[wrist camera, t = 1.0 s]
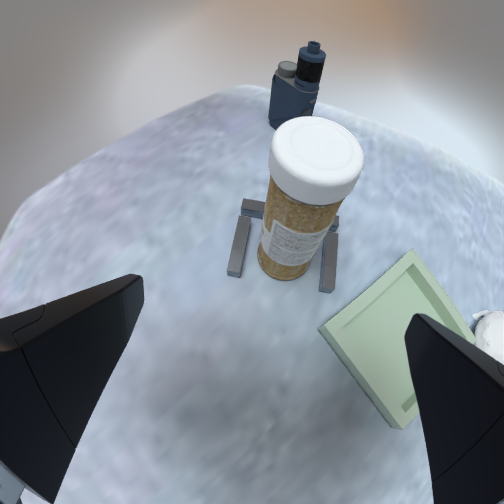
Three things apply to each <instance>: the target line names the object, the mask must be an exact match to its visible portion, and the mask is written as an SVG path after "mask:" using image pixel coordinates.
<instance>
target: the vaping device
mask: <svg viewBox="0 0 504 504" xmlns="http://www.w3.org/2000/svg"><path fill="white" fill-rule="evenodd" d="M325 57H326V54H325V52H324V51H322V50H320V43H318V42H315V41H309V42H308V47H302V48H300V50H299V56H298V62H297V64H296V63H294V62H290V61H283V62H280V63H279V65H278V69H277V70H276V71H275V74H274V76H273V79H272V88H271V98H270V107H269V120H270V125H271V126H272V127H273V128H275V129H276V130H277V129H278V128H279V127H280V126H281V125H282V124H283V123H285V122H286V121H288V120H291V119H294V118H297V117H304V116H312V113H313V109H314V105H315V103H316V99H317V94H318V90H319V83H320V78H321V74H322V70H323V65H324V61H325Z"/></svg>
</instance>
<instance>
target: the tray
mask: <svg viewBox="0 0 504 504" xmlns="http://www.w3.org/2000/svg"><path fill="white" fill-rule="evenodd" d="M415 313H422V314H426V315H428V316H429V317H431V318H433V319H434V320H436V321H437V322H439V323H441V324H442V325H444V326H445V327H447V328H448V329H450V330H452V331H453V332H455V333H456V334H458V335H459V336H461V337H462V338H464V339H466V340H467V341H469V342H470V343H472V344H474V343H475V341H476V340H477V339H476V338H475V336H474V334H473V333H472V331H471V330H470V328H469V326H468V325H467V323H466V322H465V320H464V319H463V317H462V316H461V314H460V313H459V311H458V310H457V308H456V307H455V305H454V304H453V302H452V301H451V299H450V298H449V297H448V295H447V294H446V292H445V291H444V289H443V288H442V287H441V285H440V284H439V283H438V281H437V280H436V278H435V277H434V276H433V274H432V273H431V272H430V270H429V269H428V268H427V266H426V265H425V264H424V263H423V261H422V260H421V259H420V257H419V256H418V255H417V254H416V252H415V251H414V250H413V249H411V250H410V251H409V252H407V253H406V254H405V255H404V256H403V257H402V258H401V259H400V260H399V261H398V262H396V263H395V264H394V265H393V266H392V267H391V268H390V269H389V270H388V271H387V272H385V273H384V274H383V275H382V276H381V277H380V278H379V279H378V280H376V281H375V282H374V283H373V284H372V285H371V286H370V287H368V288H367V289H366V290H365V291H364V292H363V293H361V294H360V295H359V296H358V297H357V298H356V299H354V300H353V301H352V302H351V303H350V304H348V305H347V306H346V307H345V308H343V309H342V310H341V311H340V312H339V313H337V314H336V315H335V316H334V317H332V318H331V319H330V320H329V321H327V322H326V323H325V324H323V325H322V326H321V327H320V328H318V331H319V332H320V333H321V335H322V336H323V337H324V339H325V340H326V341H327V343H328V344H329V345H330V347H331V348H332V349H333V351H334V352H335V353H336V355H337V356H338V357H339V359H340V360H341V361H342V362H343V364H344V365H345V366H346V368H347V369H348V370H349V372H350V373H351V374H352V376H353V377H354V378H355V380H356V381H357V382H358V384H359V385H360V386H361V388H362V389H363V390H364V392H365V393H366V394H367V396H368V397H369V398H370V400H371V401H372V402H373V404H374V405H375V406H376V408H377V409H378V410H379V412H380V413H381V414H382V416H383V417H384V418H385V420H386V421H387V422H388V424H389V425H390V426H391V427H393V428H397V429H401V430H403V429H404V428H405V427H406V426H407V425H408V424H409V423H410V422H411V421H412V420H413V419H414V418H415V416H416V415H417V414H418V413H419V408H418V404H417V399H416V395H415V391H414V387H413V383H412V379H411V375H410V369H409V363H408V357H407V351H406V346H405V340H404V335H405V332H406V330H407V327H408V325H409V323H410V321H411V318H412V316H413V315H414V314H415Z"/></svg>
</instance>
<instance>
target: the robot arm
mask: <svg viewBox="0 0 504 504" xmlns="http://www.w3.org/2000/svg"><path fill="white" fill-rule="evenodd" d="M143 304H144V286H143V278H142V276H140V275H135V274H128V275H125V276H122V277H119V278H116V279H114V280H111V281H108V282H105V283H102V284H99V285H97V286H94V287H91V288H88V289H85V290H82V291H80V292H77V293H74V294H71V295H68V296H66V297H63V298H60V299H57V300H55V301H52V302H49V303H46V305H45V304H43V305H41V306H38V307H35V308H32V309H29V310H27V311H24V312H21V313H17V314H14V315H11V316H8V317H4V318H1V319H0V504H22V502H21V499H20V496H21V494H22V492H23V490H24V488H26V489H27V490H29V491H30V492H32V493H33V494H35V495H37V496H38V497H40V498H42V499H43V500H45V501H47V502H48V503H50V504H53V503H54V501H55V499H56V496H57V494H58V491H59V489H60V486H61V484H62V481H63V479H64V476H65V474H66V471H67V469H68V467H69V464H70V462H71V459H72V457H73V455H74V453H75V450H76V449H75V448H77V445H78V443H79V441H80V439H81V436H82V434H83V432H84V430H85V428H86V425H87V423H88V421H89V419H90V417H91V415H92V413H93V410H94V408H95V406H96V404H97V402H98V400H99V398H100V396H101V394H102V392H103V390H104V388H105V386H106V384H107V382H108V380H109V378H110V376H111V374H112V372H113V370H114V368H115V366H116V364H117V362H118V361H119V359H120V357H121V355H122V353H123V351H124V349H125V347H126V345H127V343H128V341H129V339H130V337H131V334H132V332H133V329H134V327H135V324H136V322H137V319H138V317H139V314H140V312H141V309H142V307H143ZM404 340H405V346H406V351H407V357H408V363H409V369H410V375H411V379H412V383H413V387H414V391H415V395H416V399H417V404H418V408H419V412H420V417H421V422H422V427H423V432H424V437H425V442H426V448H427V454H428V460H429V466H430V473H431V481H432V490H433V500H434V504H504V365H503V364H502V363H500V362H499V361H497V360H495V359H494V358H493V357H491V356H490V355H488V354H487V353H485V352H484V351H482V350H481V349H479V348H478V347H476V346H475V345H473V344H472V343H470V342H469V341H467V340H466V339H464V338H462V337H461V336H459V335H458V334H456V333H455V332H453V331H452V330H450V329H448V328H447V327H445V326H444V325H442V324H441V323H439V322H437V321H436V320H434V319H433V318H431V317H429V316H428V315H426V314H422V313H415V314H414V315H413V316H412V318H411V321H410V323H409V325H408V327H407V330H406V332H405V335H404Z"/></svg>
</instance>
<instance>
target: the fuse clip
mask: <svg viewBox="0 0 504 504" xmlns="http://www.w3.org/2000/svg"><path fill="white" fill-rule="evenodd" d="M265 203H266V202H261V201H256V200H250V199H243V202H242V206H241V215H244V216H250V217H256V218H261V219H263V215H264V208H265ZM244 216H239V219H238V223H237V228H236V232H235V236H234V241H233V245H232V250H231V254H230V259H229V263H228V268H227V275H228V276H233V277H238V278H240V273H241V268H242V263H243V258H244V253H245V249H246V244H247V239H248V234H249V229H250V223H251V218H250V217H244ZM338 226H339V216H335V219H334V221H333V223H332V225H331V226H330V228H329V230H328V231H332V232H335V231H336V229H337V227H338ZM332 232H327V233H326V235H325V237H324V240H323V253H322V265H321V275H320V286H319V291H320V292H326V293H331V292H332V291H333V290H334V289H335V278H336V264H337V247H338V234H337V233H332Z"/></svg>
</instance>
